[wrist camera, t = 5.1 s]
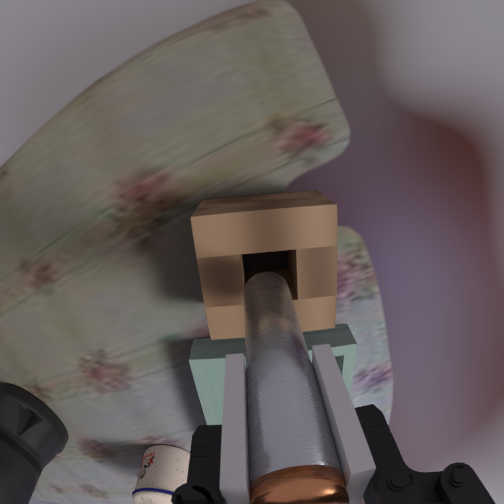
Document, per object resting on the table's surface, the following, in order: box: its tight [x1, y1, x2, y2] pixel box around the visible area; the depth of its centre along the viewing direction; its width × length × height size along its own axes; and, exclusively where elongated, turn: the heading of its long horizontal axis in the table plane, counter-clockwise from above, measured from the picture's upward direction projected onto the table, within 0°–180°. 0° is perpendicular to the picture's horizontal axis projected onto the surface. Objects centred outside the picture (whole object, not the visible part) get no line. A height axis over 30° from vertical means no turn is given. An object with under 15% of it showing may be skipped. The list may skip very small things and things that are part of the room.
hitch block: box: [190, 190, 337, 340], centre depth 26 cm, size 10×10×6 cm
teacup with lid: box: [132, 445, 190, 504], centre depth 35 cm, size 12×9×12 cm
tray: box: [189, 324, 357, 425], centre depth 33 cm, size 16×16×4 cm
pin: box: [244, 272, 350, 504], centre depth 14 cm, size 3×3×15 cm
